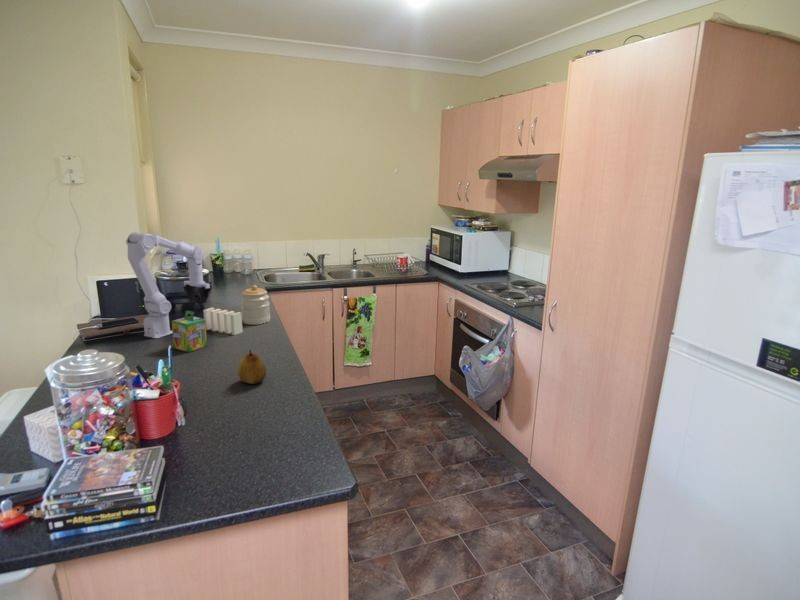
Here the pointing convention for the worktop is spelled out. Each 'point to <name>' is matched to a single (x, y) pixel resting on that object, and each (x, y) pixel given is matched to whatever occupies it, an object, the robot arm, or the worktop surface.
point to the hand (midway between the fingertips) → (198, 301)
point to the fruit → (251, 369)
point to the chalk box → (189, 333)
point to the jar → (255, 306)
